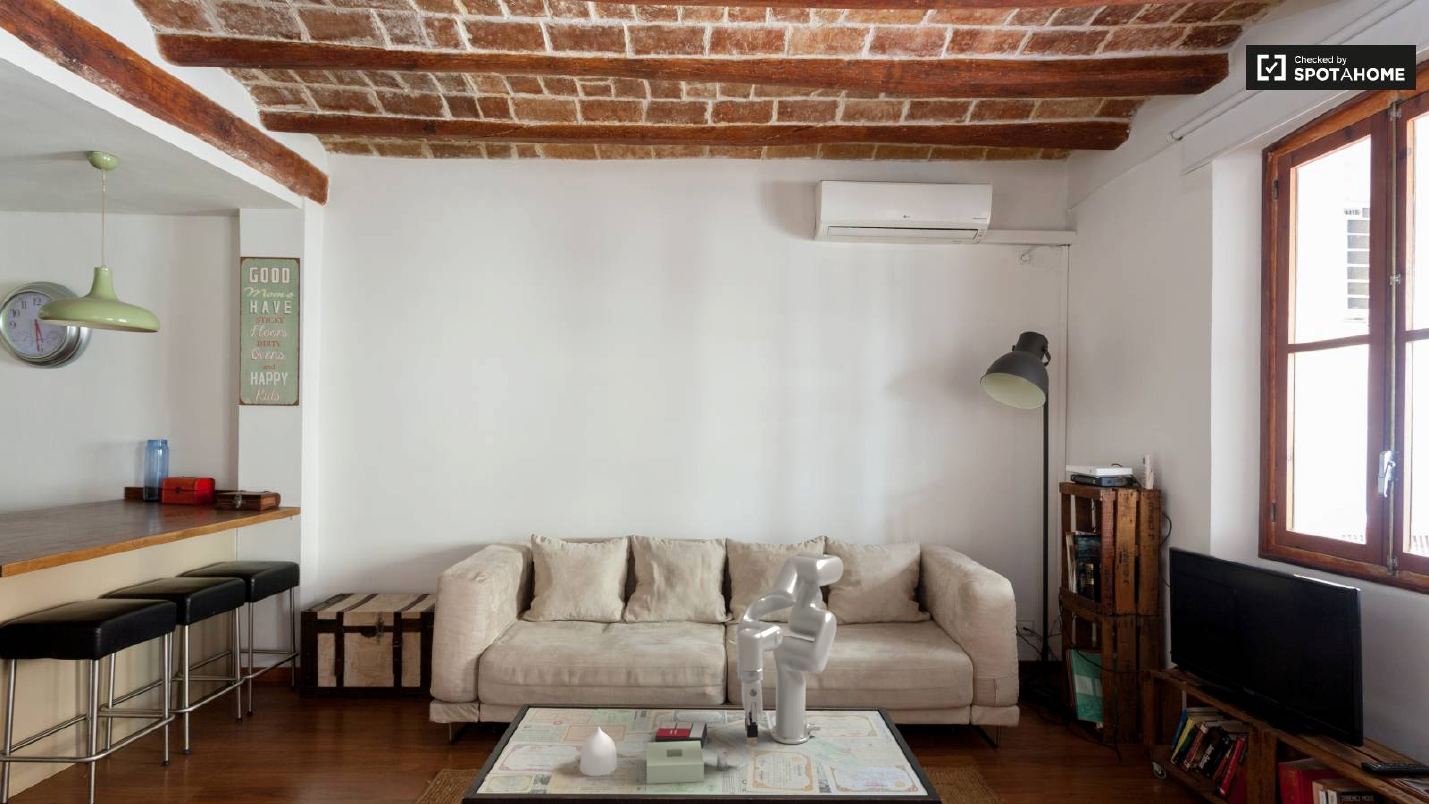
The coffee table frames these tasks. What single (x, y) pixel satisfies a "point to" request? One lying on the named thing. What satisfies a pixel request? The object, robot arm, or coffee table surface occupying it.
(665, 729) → the calculator
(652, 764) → the peg block
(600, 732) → the teardrop
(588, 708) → the coffee table surface
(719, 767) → the short pin
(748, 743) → the long pin
